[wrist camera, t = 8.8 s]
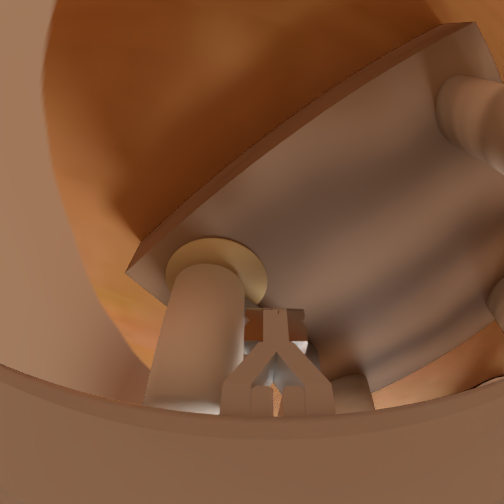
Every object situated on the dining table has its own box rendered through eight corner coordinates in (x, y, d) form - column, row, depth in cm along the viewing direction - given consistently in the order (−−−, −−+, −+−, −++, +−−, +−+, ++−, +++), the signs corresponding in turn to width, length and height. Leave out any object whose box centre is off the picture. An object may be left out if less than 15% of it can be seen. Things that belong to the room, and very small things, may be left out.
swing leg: (331, 347, 18) (351, 447, 12) (287, 370, 19) (295, 464, 14) (206, 247, 14) (180, 383, 8) (161, 287, 15) (125, 408, 9)
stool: (513, 270, 19) (567, 348, 11) (324, 385, 27) (338, 476, 19) (442, 23, 9) (592, 34, 1) (140, 242, 17) (76, 384, 9)
